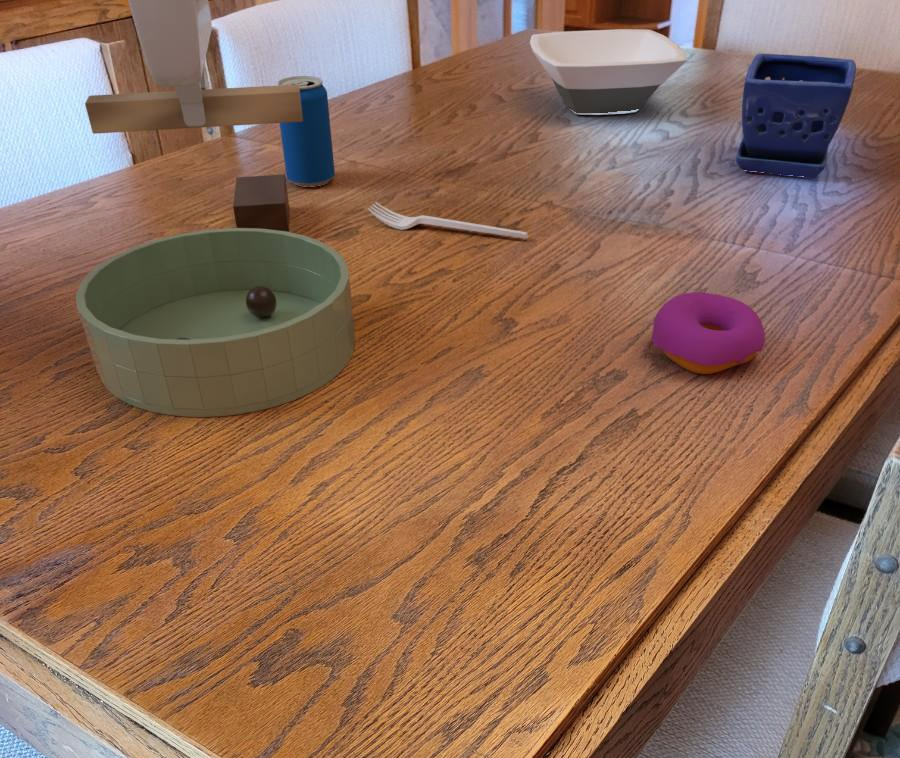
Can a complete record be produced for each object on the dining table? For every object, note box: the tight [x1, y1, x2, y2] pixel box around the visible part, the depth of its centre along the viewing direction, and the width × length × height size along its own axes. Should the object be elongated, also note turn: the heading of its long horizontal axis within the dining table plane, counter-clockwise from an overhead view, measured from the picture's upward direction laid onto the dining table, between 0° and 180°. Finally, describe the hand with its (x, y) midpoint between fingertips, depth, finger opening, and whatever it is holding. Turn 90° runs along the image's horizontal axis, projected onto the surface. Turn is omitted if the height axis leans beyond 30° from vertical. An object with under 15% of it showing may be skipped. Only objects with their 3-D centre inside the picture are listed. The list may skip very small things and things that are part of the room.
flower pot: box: [735, 53, 857, 178], centre depth 119 cm, size 13×13×12 cm
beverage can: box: [277, 75, 336, 187], centre depth 117 cm, size 6×6×12 cm
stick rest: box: [232, 173, 291, 232], centre depth 110 cm, size 6×10×4 cm, turn 8°
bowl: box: [529, 28, 688, 113], centre depth 142 cm, size 22×23×8 cm
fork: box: [367, 201, 529, 239], centre depth 108 cm, size 3×20×2 cm, turn 69°
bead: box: [246, 286, 276, 318], centre depth 90 cm, size 3×3×3 cm
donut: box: [651, 291, 766, 375], centre depth 84 cm, size 10×10×5 cm
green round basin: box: [75, 227, 356, 418], centre depth 85 cm, size 25×25×7 cm
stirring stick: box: [84, 84, 303, 135], centre depth 78 cm, size 18×2×2 cm, turn 98°
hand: (197, 117), depth 79 cm, fingers closed on stirring stick, 2 cm apart
